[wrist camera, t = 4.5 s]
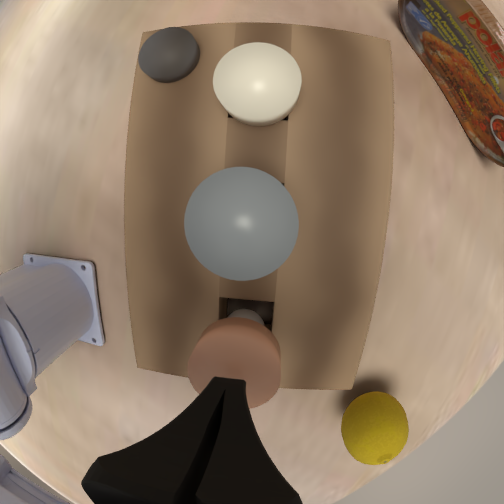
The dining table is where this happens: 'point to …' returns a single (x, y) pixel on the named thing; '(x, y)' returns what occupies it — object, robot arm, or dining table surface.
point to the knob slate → (241, 223)
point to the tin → (463, 63)
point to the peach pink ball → (238, 356)
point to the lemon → (374, 428)
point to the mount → (280, 167)
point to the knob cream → (257, 83)
